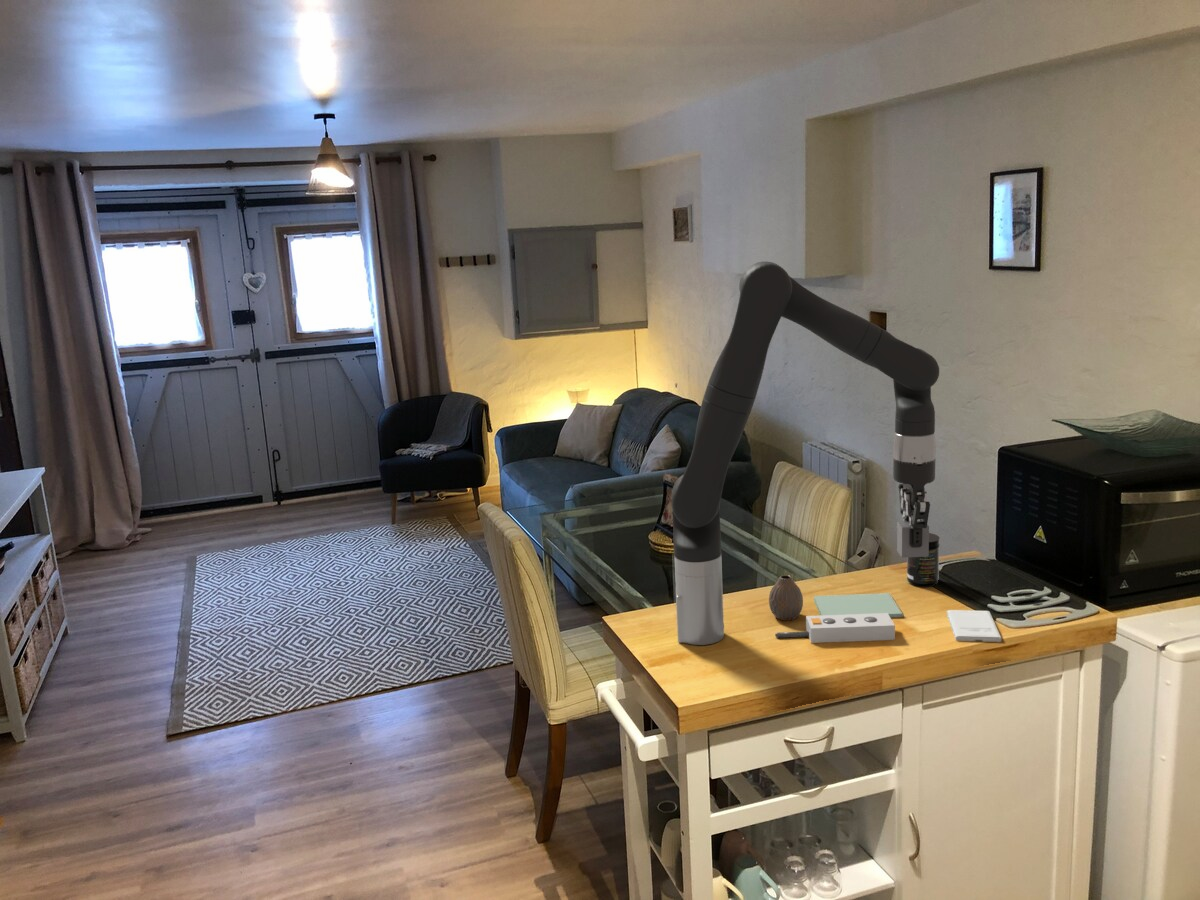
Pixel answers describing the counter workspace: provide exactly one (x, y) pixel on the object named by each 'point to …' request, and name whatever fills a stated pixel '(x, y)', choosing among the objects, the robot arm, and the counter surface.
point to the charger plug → (904, 541)
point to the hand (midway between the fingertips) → (912, 542)
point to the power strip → (846, 628)
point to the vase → (785, 599)
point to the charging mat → (857, 604)
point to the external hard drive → (973, 626)
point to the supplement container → (925, 565)
